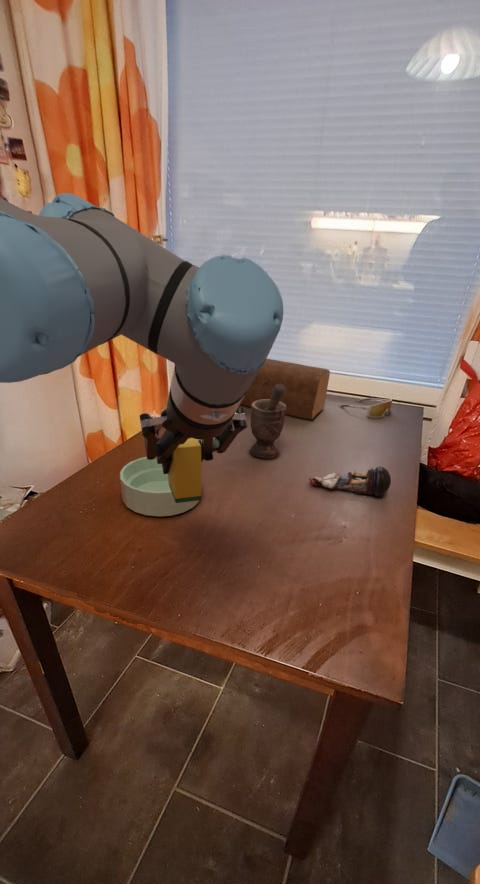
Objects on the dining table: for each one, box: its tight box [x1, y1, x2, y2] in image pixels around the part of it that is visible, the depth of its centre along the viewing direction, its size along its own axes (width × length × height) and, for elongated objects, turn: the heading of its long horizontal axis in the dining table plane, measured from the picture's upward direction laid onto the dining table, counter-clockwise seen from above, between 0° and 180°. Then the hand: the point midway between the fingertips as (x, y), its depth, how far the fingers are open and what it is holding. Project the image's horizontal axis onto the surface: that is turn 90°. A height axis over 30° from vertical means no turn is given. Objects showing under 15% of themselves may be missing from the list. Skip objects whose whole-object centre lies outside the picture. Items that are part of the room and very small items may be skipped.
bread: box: [239, 358, 331, 421], centre depth 138 cm, size 14×34×14 cm, turn 65°
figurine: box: [308, 465, 392, 497], centre depth 96 cm, size 8×7×18 cm
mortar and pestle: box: [249, 384, 286, 460], centre depth 103 cm, size 12×9×20 cm
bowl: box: [119, 456, 200, 518], centre depth 88 cm, size 16×16×6 cm
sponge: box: [168, 438, 202, 503], centre depth 64 cm, size 4×6×9 cm, turn 18°
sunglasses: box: [340, 397, 393, 419], centre depth 142 cm, size 14×15×5 cm
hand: (179, 464), depth 67 cm, fingers closed on sponge, 4 cm apart
